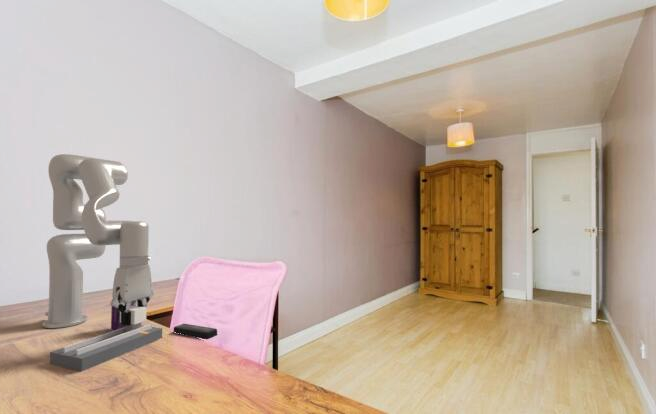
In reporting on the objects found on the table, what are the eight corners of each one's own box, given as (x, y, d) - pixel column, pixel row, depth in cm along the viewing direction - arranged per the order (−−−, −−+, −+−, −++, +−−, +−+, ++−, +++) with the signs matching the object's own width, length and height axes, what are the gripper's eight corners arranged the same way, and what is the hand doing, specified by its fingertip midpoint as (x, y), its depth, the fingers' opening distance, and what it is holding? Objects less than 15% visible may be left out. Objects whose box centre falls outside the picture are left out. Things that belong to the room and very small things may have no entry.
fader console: (49, 364, 85) (50, 347, 85) (133, 333, 108) (133, 320, 108) (81, 371, 81) (82, 353, 81) (162, 338, 104) (162, 324, 104)
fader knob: (119, 332, 100) (120, 308, 100) (131, 328, 104) (131, 305, 104) (134, 334, 98) (134, 310, 98) (146, 330, 102) (146, 307, 102)
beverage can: (124, 333, 108) (124, 296, 108) (105, 332, 109) (106, 295, 110) (140, 326, 115) (141, 291, 115) (123, 325, 116) (123, 290, 117)
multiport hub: (207, 340, 103) (207, 333, 103) (173, 334, 108) (173, 327, 108) (217, 336, 107) (217, 328, 107) (183, 330, 112) (183, 323, 112)
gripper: (148, 258, 111) (147, 314, 110) (98, 264, 95) (96, 330, 94) (165, 259, 108) (164, 316, 108) (117, 266, 93) (115, 333, 92)
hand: (133, 322), depth 101 cm, fingers closed on fader knob, 4 cm apart
